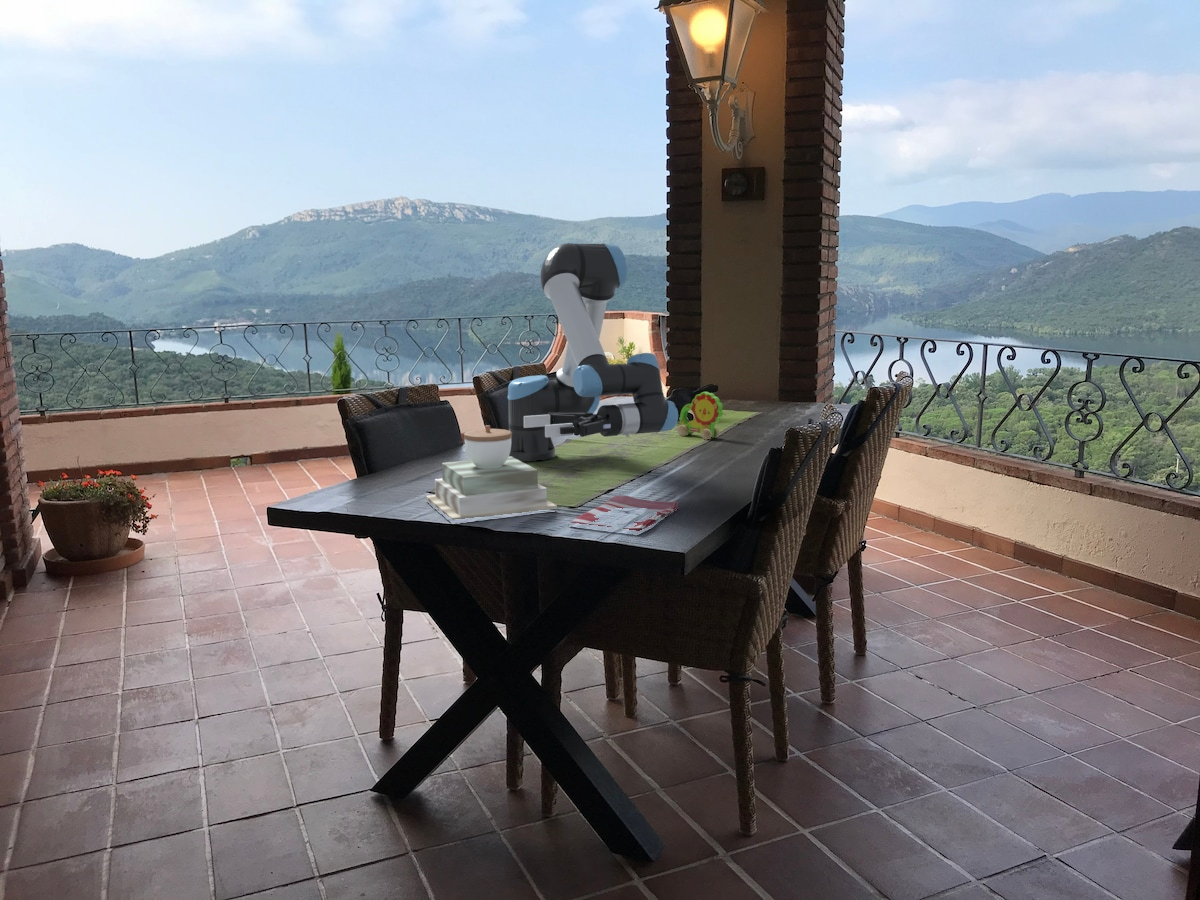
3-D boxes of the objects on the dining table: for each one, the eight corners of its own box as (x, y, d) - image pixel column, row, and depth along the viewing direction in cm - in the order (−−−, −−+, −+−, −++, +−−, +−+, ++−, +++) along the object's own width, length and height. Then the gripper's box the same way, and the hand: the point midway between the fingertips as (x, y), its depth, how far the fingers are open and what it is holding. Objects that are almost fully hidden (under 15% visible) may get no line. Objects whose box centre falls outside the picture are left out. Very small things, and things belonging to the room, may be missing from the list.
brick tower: (426, 501, 206) (424, 462, 204) (522, 491, 216) (521, 453, 215) (452, 525, 187) (451, 481, 185) (556, 512, 197) (556, 470, 195)
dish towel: (680, 511, 199) (680, 500, 198) (640, 539, 178) (640, 526, 178) (612, 504, 206) (612, 493, 205) (566, 529, 185) (566, 517, 185)
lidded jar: (474, 473, 193) (472, 430, 191) (458, 464, 202) (457, 423, 200) (519, 468, 198) (518, 427, 196) (502, 459, 207) (501, 420, 205)
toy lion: (676, 435, 292) (676, 390, 289) (686, 433, 296) (687, 388, 293) (715, 441, 282) (716, 394, 279) (725, 439, 285) (726, 392, 283)
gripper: (641, 444, 201) (555, 452, 192) (595, 427, 223) (516, 433, 215) (641, 411, 200) (555, 418, 191) (595, 398, 222) (515, 403, 213)
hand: (534, 426), depth 203 cm, fingers open, 13 cm apart
